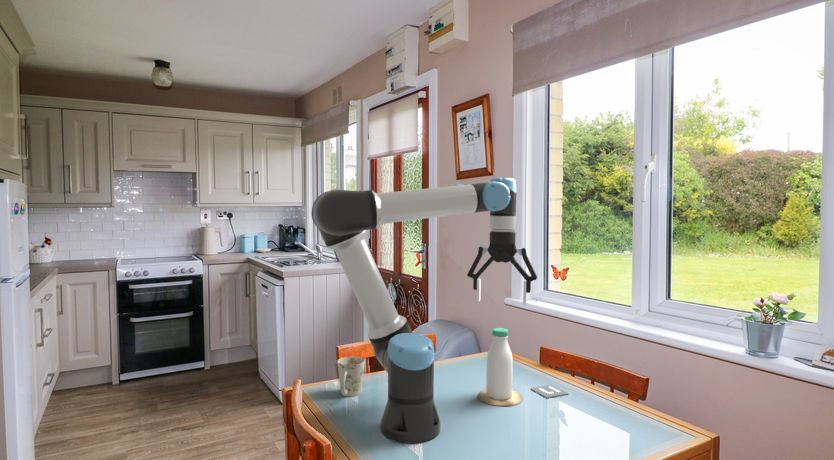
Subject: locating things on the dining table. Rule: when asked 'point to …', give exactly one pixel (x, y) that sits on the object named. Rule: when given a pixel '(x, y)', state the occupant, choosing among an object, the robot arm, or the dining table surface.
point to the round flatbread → (511, 401)
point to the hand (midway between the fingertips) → (501, 302)
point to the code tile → (549, 391)
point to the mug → (351, 375)
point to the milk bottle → (499, 367)
